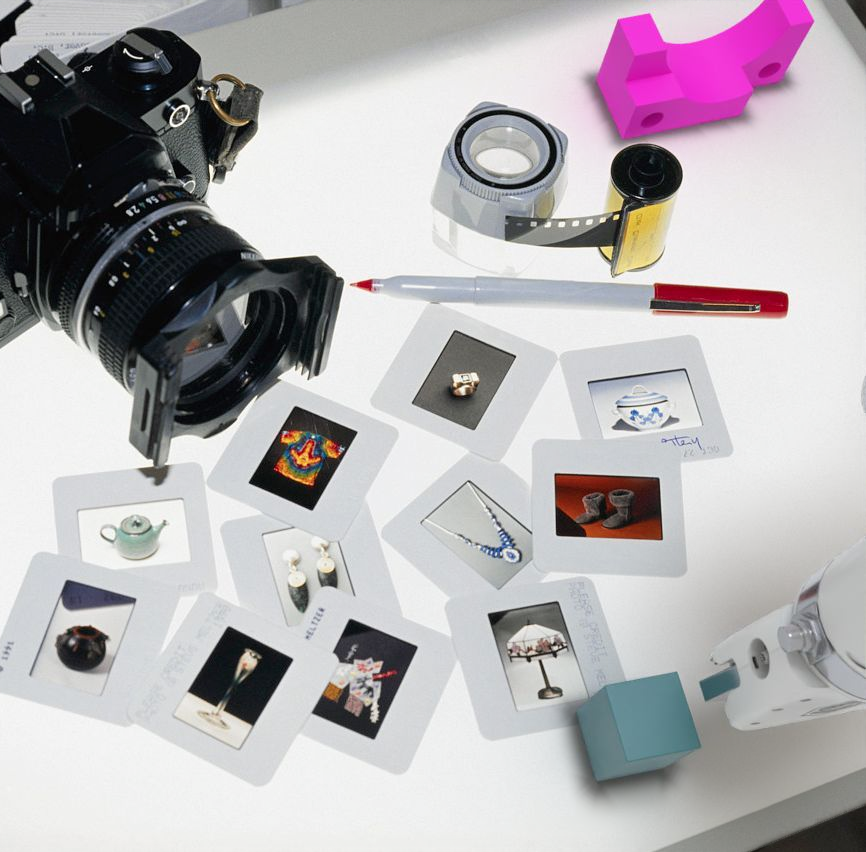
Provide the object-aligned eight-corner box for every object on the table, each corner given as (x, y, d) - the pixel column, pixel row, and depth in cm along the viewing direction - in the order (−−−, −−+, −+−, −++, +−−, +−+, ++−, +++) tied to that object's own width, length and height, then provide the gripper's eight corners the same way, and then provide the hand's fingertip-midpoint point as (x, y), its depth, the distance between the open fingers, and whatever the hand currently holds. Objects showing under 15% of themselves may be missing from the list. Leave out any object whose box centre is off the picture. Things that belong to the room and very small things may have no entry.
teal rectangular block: (640, 698, 81) (677, 671, 74) (662, 769, 79) (702, 747, 72) (574, 711, 80) (604, 685, 73) (594, 782, 79) (627, 762, 71)
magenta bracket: (621, 142, 100) (646, 80, 93) (594, 83, 102) (617, 18, 95) (790, 108, 101) (828, 45, 95) (760, 50, 104) (795, -15, 97)
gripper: (761, 725, 59) (655, 778, 76) (1047, 670, 61) (881, 734, 77) (712, 578, 62) (620, 661, 79) (986, 529, 64) (839, 620, 80)
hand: (750, 697), depth 78 cm, fingers closed
